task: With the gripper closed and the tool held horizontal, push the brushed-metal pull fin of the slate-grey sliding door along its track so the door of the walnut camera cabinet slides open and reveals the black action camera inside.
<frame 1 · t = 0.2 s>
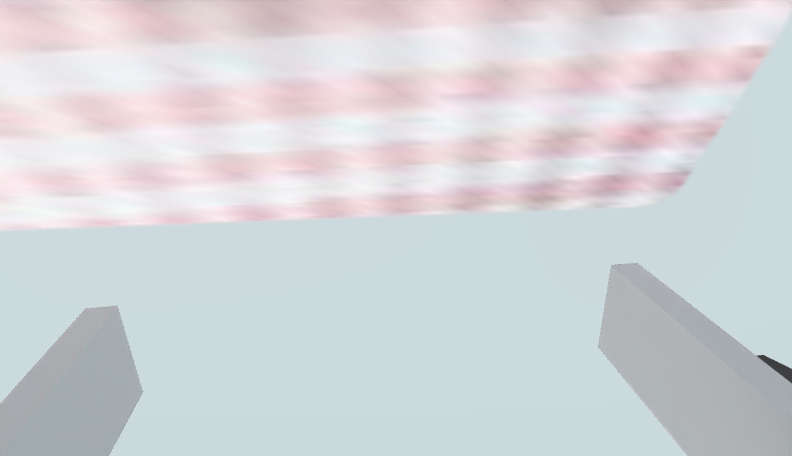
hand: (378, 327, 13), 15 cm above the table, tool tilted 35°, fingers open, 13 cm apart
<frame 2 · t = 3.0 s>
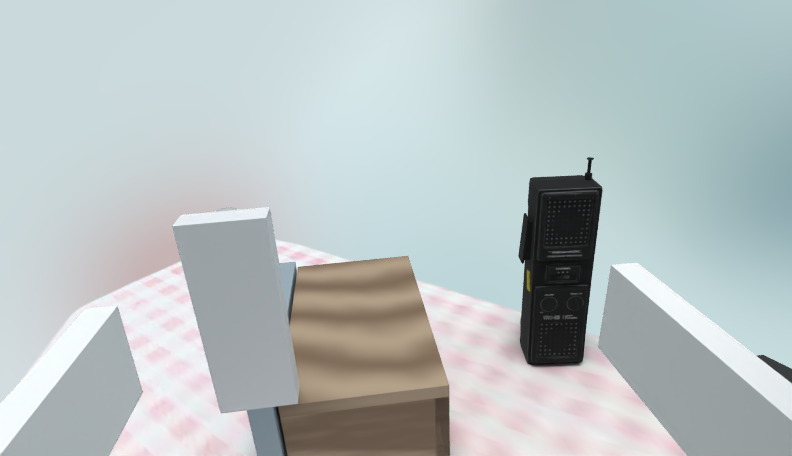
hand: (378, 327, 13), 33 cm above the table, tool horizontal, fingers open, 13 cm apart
portable radio: (545, 352, 62), on the table
sliding door: (273, 302, 49), point 14 cm above the table, slide at 0.0 cm
camera cabinet: (366, 402, 55), on the table
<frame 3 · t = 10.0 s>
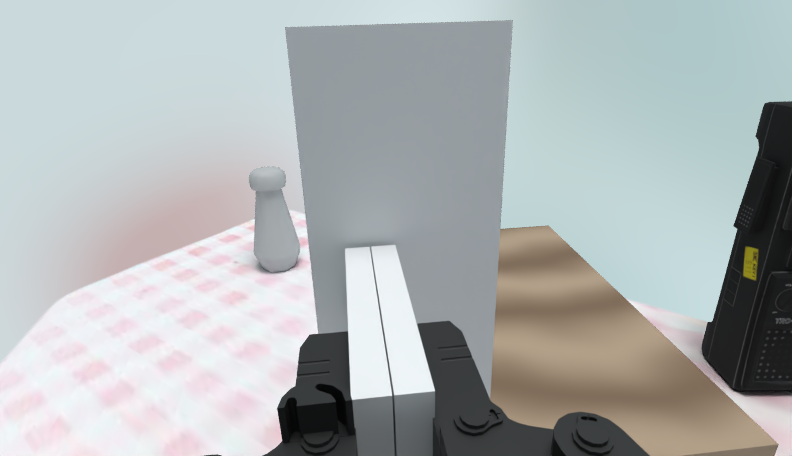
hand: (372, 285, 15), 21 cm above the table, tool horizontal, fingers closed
portable radio: (749, 373, 42), on the table
sliding door: (382, 273, 30), point 14 cm above the table, slide at 0.9 cm, touching gripper
camera cabinet: (505, 447, 35), on the table
salt shaker: (279, 266, 63), on the table
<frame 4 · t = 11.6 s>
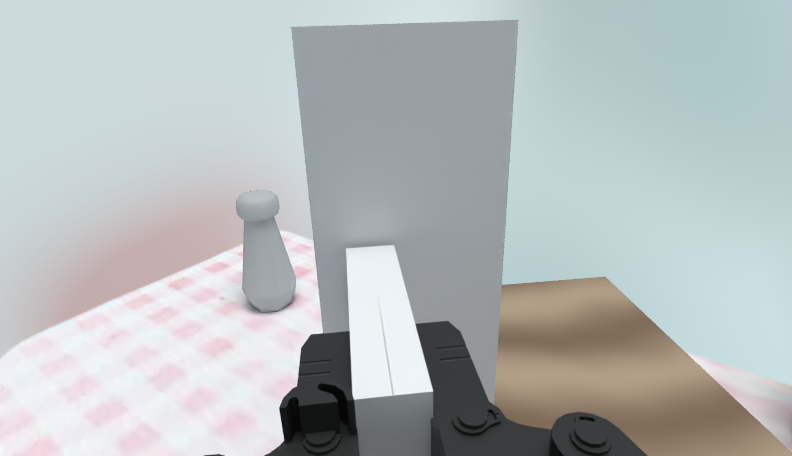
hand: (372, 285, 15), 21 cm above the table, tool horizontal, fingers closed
sliding door: (385, 273, 30), point 14 cm above the table, slide at 10.3 cm, touching gripper
salt shaker: (272, 303, 55), on the table
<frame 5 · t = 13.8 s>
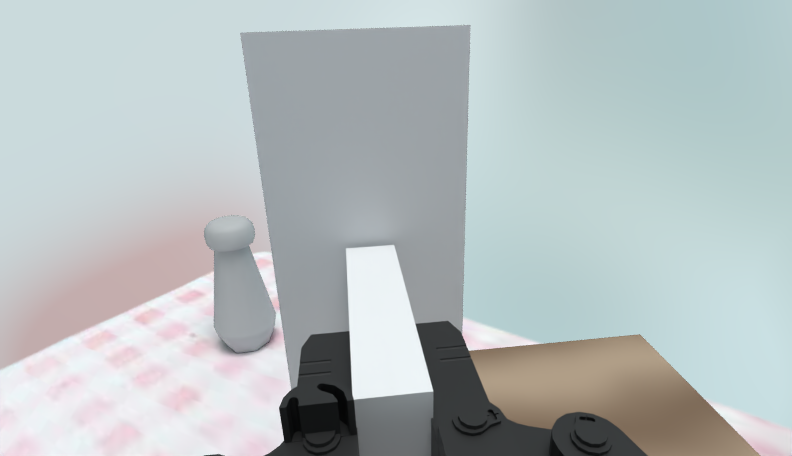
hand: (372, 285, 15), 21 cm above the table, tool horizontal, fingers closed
sliding door: (363, 276, 29), point 15 cm above the table, slide at 16.9 cm, touching gripper
salt shaker: (249, 341, 48), on the table
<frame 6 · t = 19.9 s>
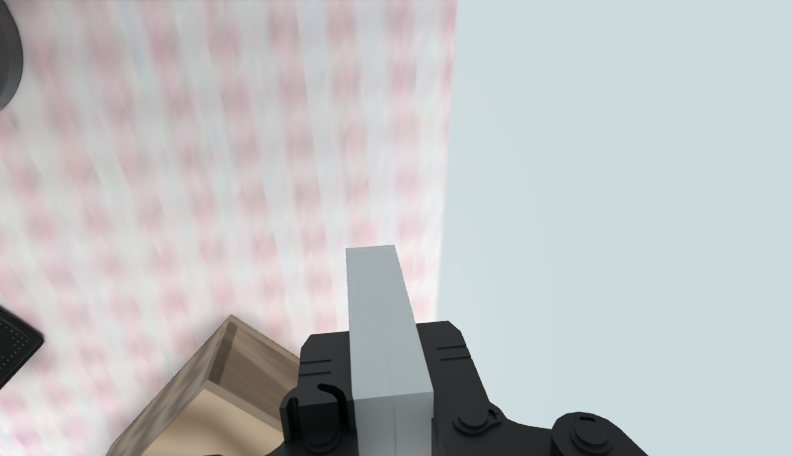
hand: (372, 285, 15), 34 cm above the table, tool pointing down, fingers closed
portable radio: (8, 336, 52), on the table
camera cabinet: (219, 411, 59), on the table
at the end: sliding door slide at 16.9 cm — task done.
